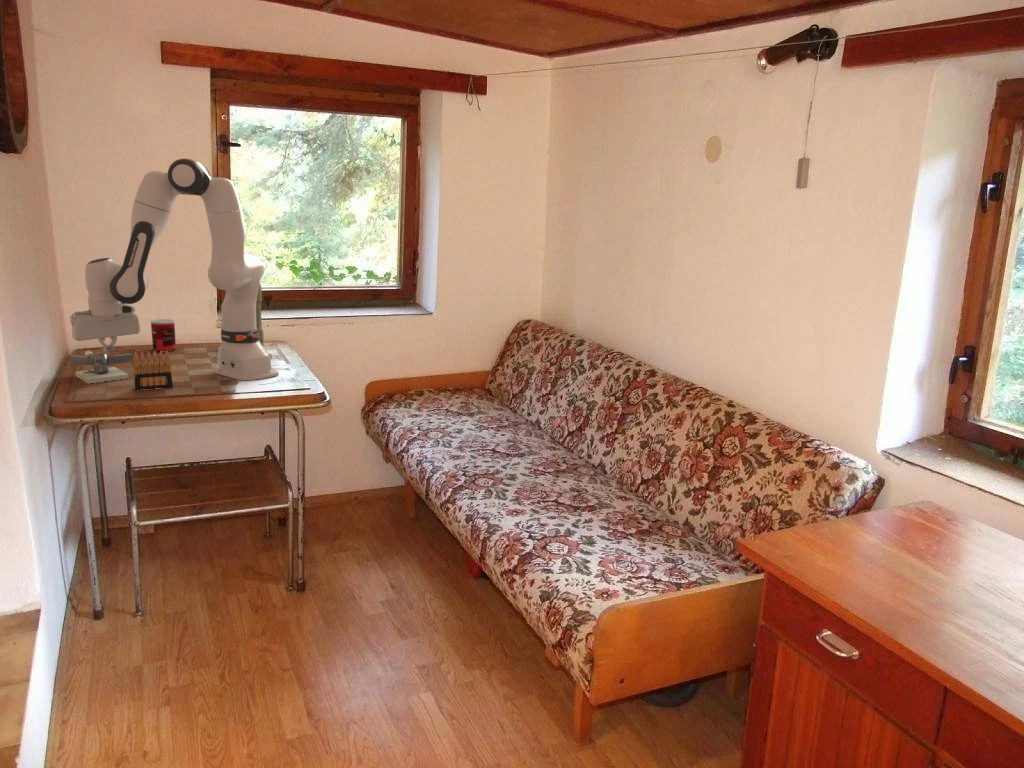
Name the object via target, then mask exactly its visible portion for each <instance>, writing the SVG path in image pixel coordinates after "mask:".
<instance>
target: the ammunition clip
mask: <svg viewBox="0 0 1024 768" xmlns="http://www.w3.org/2000/svg"><path fill="white" fill-rule="evenodd" d="M163 353H165V354H163ZM157 355H159V356H157ZM164 356H165V357H164ZM139 357H140V358H139ZM164 358H165V359H164ZM139 360H140V361H139ZM171 366H172V364H171V359H170V352H168V350H166V352H162V351H161V350H160V352H158V354H157V352H156V351H154V350H153V354H152V356H151V353H150V351H149V350H148V351H147V353H146V359H145V354H144V352H143V351H141V352H140V356H138V353H137V351H134V353H133V374H134V375H133V376H134V390H140V391H144V390H143V389H153V390H156V389H155V388H165V389H173V388H174V386H173V378H172V376H173V375H172V367H171ZM170 387H171V388H170ZM172 387H173V388H172ZM141 389H142V390H141Z"/></svg>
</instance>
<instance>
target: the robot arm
mask: <svg viewBox="0 0 1024 768" xmlns="http://www.w3.org/2000/svg"><path fill="white" fill-rule="evenodd" d="M180 195H188V196H198V197H200V198H201V199H202V201H203V203H204V204H203V205H204V207H205V212H206V217H207V222H208V227H209V232H210V239H211V261H210V265H209V268H208V270H207V278H208V280H209V282H210V284H211V285H212V286H213V287H214V288H216V289H218V290H222V291H225V295H224V298H223V301H222V303H221V306H220V310H221V312H220V313H221V330H220V340H221V344H220V346H218V348H217V368H215V369H214V370H213V372H214V374H217V375H220V376H224V377H228V378H230V379H231V378H232V379H235V380H237V381H238V380H239V381H253V380H262V379H267V378H268V379H269V378H273V377H275V376H278V375H280V373H279V371H278V370H277V369H276V368H274V367H273V366H272V362H271V361H272V359H273V358H272V353H271V352H269V353H268V352H267V350H266V348H265V346H264V345H263V346H262V344H261V343H260V341H259V340H260V336H259V335H260V334H259V332H258V329H257V328H256V301H257V295H258V289H259V283H260V282H261V279H262V277H263V274H264V271H265V270H264V269H265V268H264V263H263V262H262V260H261V259H260V258H259V257H258V256H256V255H255V254H252V255H251V254H250V253H245V241H246V238H247V230H246V229H247V228H246V225H245V220H244V215H243V211H242V204H241V202H240V198H239V194H238V192H237V190H236V187H235V184H234V183H233V182H232V180H230V179H229V178H226V177H222V176H221V177H220V176H219V177H212V176H211V174H210V172H209V170H208V168H206V166H205V165H203V164H202V163H201V162H199V161H198V160H194V159H191V158H179V159H175V160H174V161H173V162H172V163H171V164H170V165H169V167H168V170H167V172H162V171H159V170H154V171H153V170H152V171H151V170H150V171H148V172H147V173H146V174H145V175H144V176H143V177H142V180H141V182H140V183H139V186H138V189H137V192H136V194H135V197H134V201H133V205H132V209H131V210H132V211H131V218H130V219H131V220H130V236H129V237H130V238H129V243H128V246H127V248H126V249H127V250H126V252H125V256H124V258H123V262H122V264H121V263H119V262H117V261H115V260H113V259H112V258H110V257H102V258H96V259H92V260H91V261H89V262H88V263H86V265H85V270H84V276H85V278H84V279H85V285H86V286H85V287H86V289H87V292H88V296H87V297H88V298H87V304H88V310H82V311H81V310H80V311H75V312H74V313H72V314H71V315H70V318H69V319H70V325H72V326H71V336H72V339H74V340H75V341H77V342H83V341H90V340H97V339H98V342H99V343H100V344H101V346H102V350H103V351H104V352H110V351H111V352H112V351H115V345H116V343H117V340H118V337H122V336H130V335H137V334H139V333H140V331H141V326H140V321H139V317H138V315H137V314H136V313H135V312H136V308H135V306H133V305H132V304H136V303H138V302H140V301H141V300H142V298H143V297H144V295H145V293H146V291H147V289H148V286H149V279H148V277H147V275H146V273H145V269H146V267H147V266H146V265H147V263H148V258H149V255H150V251H151V249H152V247H153V245H154V243H155V241H156V240H157V239H158V238H159V236H161V234H162V233H163V232H164V230H165V228H166V226H167V223H168V221H169V219H170V216H171V212H172V209H173V206H174V202H175V200H176V198H177V197H178V196H180ZM260 284H261V283H260ZM106 338H109V339H110V340H111V341H110V343H109V344H106V343H105V341H106Z"/></svg>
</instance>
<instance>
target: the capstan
mask: <svg viewBox="0 0 1024 768" xmlns="http://www.w3.org/2000/svg"><path fill="white" fill-rule="evenodd" d="M69 358H70V364H71V365H81V366H82V365H83V366H93V370H94V373H97V374H103V373H108V368H109V366H110V365H116V364H125V363H130V362H134V353H130V352H129V353H123V354H122V353H121V354H115V355H109V356H108V353H107V352H95V353H93V352H92V351H91V350H90V349H89V350H85V352H84V355H76V354H74V355H70V356H69Z"/></svg>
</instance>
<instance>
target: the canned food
mask: <svg viewBox="0 0 1024 768" xmlns="http://www.w3.org/2000/svg"><path fill="white" fill-rule="evenodd" d="M175 326H176V325H175V320H173V319H168V318H165V319H164V318H161V319H153V320H150V327H151V329H150V331H151V341H152V349H154V350H156V351H160V350H161V351H166V350H168V351H170V350H174V349H175V350H176V349H177V341H176V329H175ZM154 350H153V351H154ZM156 351H155V352H156Z"/></svg>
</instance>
